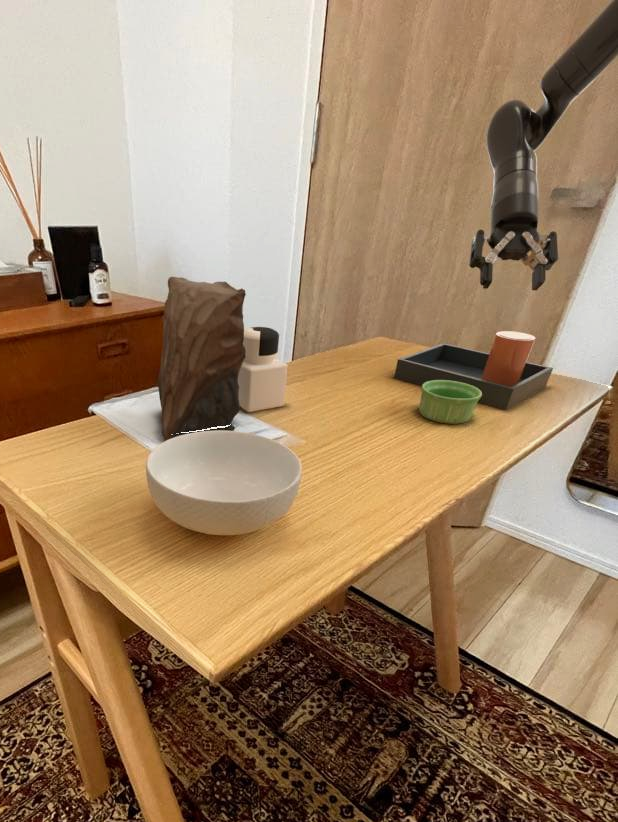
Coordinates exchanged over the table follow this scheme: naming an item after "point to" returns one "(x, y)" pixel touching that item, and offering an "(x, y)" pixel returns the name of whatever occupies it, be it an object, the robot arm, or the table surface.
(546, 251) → the robot arm
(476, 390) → the ramekin
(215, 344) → the brown carved rock
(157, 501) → the cereal bowl
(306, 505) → the table surface
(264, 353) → the medicine bottle
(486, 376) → the cup
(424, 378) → the tray
